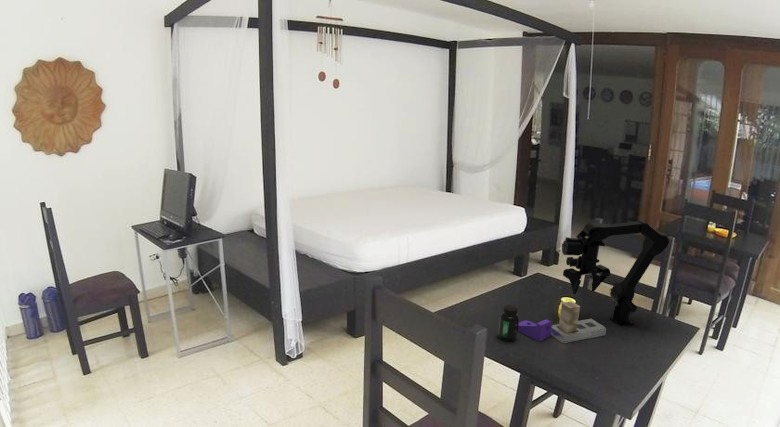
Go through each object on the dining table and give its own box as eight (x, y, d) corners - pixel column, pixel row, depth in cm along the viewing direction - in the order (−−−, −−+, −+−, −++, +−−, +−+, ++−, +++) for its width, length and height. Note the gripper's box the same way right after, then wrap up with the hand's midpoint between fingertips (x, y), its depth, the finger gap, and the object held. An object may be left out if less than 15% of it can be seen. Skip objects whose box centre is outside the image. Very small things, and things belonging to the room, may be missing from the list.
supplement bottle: (505, 343, 179) (508, 313, 176) (494, 334, 185) (497, 305, 182) (520, 340, 182) (524, 310, 178) (509, 331, 188) (512, 302, 184)
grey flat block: (590, 325, 194) (591, 318, 193) (605, 335, 187) (606, 327, 186) (548, 333, 187) (549, 325, 186) (562, 343, 180) (563, 335, 179)
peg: (567, 332, 188) (571, 301, 185) (575, 338, 184) (580, 306, 181) (557, 334, 187) (561, 302, 183) (565, 340, 183) (570, 308, 179)
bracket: (550, 336, 185) (552, 320, 184) (539, 342, 181) (541, 325, 179) (523, 324, 194) (525, 308, 192) (512, 329, 190) (514, 312, 188)
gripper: (593, 246, 201) (587, 282, 206) (556, 250, 195) (551, 287, 199) (614, 256, 192) (607, 293, 196) (575, 260, 185) (570, 298, 189)
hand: (583, 292), depth 195 cm, fingers open, 9 cm apart
